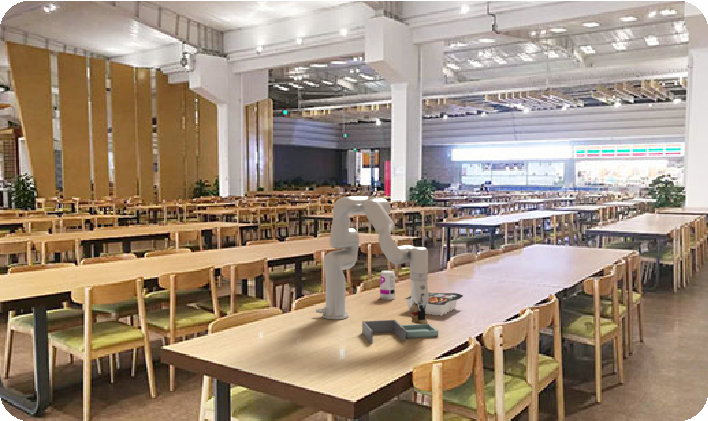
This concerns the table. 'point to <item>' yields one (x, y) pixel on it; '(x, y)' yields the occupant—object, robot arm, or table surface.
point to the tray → (420, 331)
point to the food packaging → (439, 303)
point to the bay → (382, 328)
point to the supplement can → (387, 285)
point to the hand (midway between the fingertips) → (418, 317)
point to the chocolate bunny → (416, 315)
